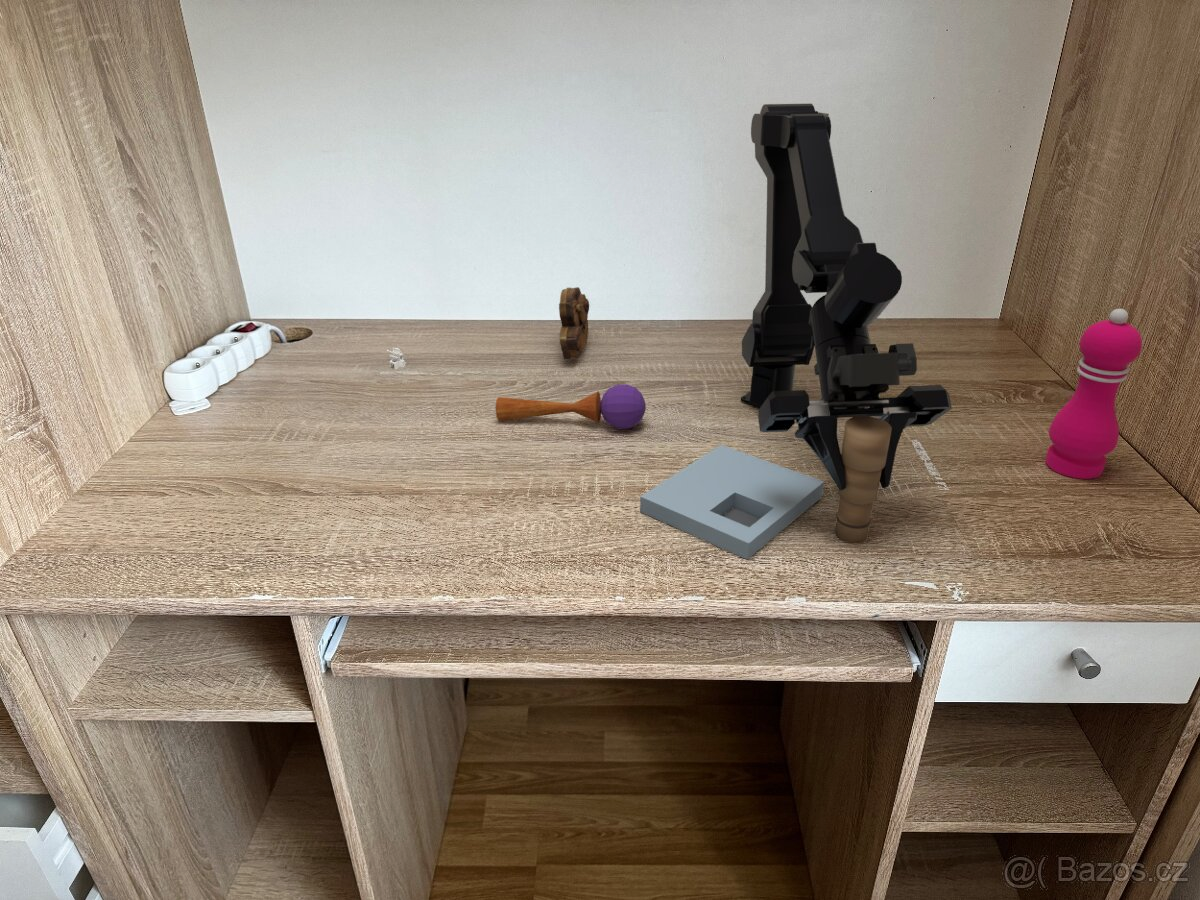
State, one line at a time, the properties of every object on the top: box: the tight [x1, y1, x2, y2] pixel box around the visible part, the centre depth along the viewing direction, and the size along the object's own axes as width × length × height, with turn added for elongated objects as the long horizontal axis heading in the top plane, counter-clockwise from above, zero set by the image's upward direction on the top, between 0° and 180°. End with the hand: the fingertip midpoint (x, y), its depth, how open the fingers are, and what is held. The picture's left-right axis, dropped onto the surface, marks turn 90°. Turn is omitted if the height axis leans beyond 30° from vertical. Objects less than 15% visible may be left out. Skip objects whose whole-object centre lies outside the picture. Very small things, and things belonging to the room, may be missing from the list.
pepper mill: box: [1045, 308, 1143, 480], centre depth 96 cm, size 7×7×20 cm
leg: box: [834, 416, 892, 545], centre depth 85 cm, size 4×4×13 cm
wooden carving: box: [558, 287, 590, 360], centre depth 134 cm, size 16×5×10 cm, turn 179°
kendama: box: [495, 383, 647, 430], centre depth 112 cm, size 6×6×20 cm
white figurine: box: [386, 347, 407, 370], centre depth 130 cm, size 3×3×3 cm
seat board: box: [639, 444, 825, 560], centre depth 93 cm, size 16×14×2 cm
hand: (864, 488), depth 84 cm, fingers closed on leg, 4 cm apart
